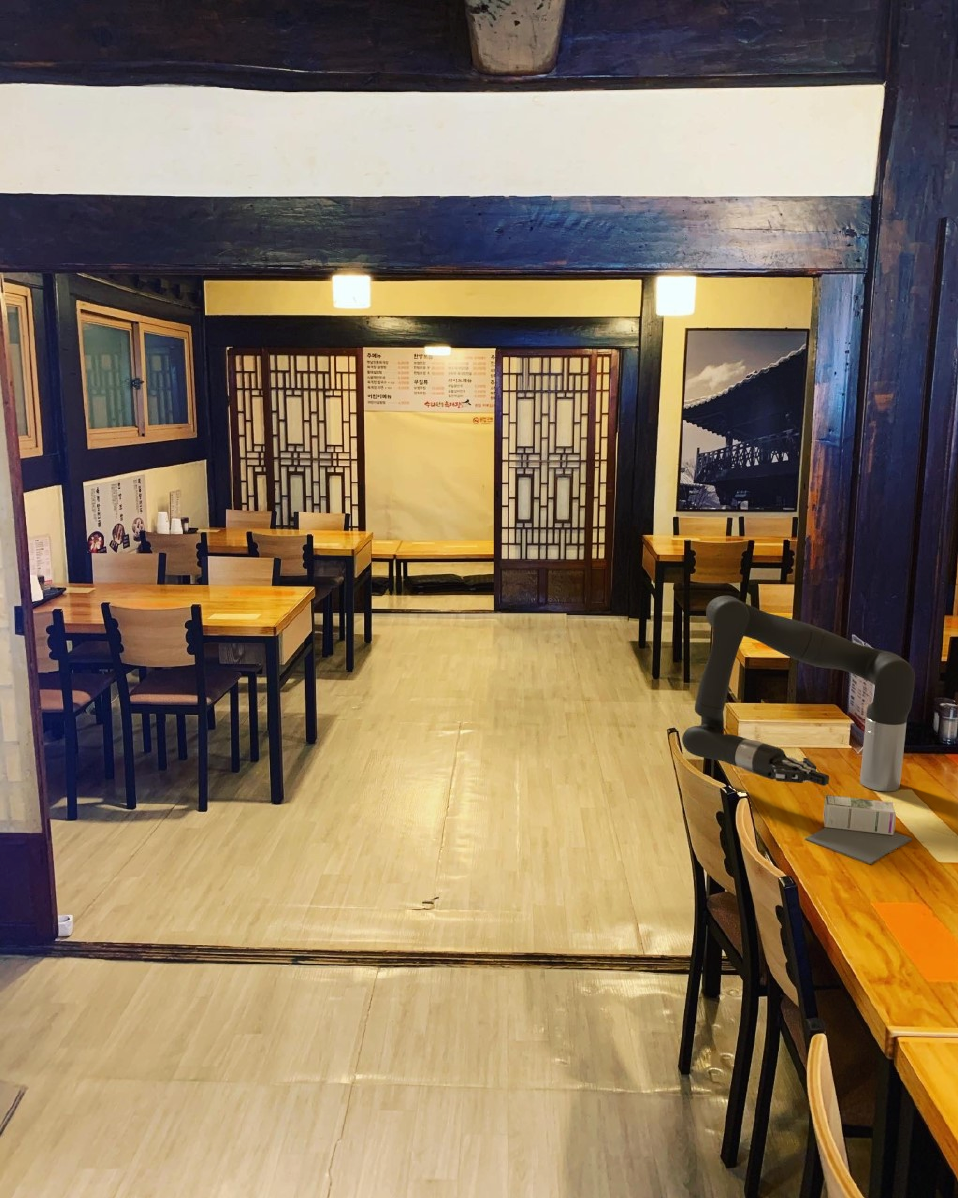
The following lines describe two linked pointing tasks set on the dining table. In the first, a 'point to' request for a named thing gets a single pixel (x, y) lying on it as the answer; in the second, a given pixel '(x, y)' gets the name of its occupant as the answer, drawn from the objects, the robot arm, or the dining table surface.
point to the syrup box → (859, 815)
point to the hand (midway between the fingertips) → (827, 780)
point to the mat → (858, 843)
